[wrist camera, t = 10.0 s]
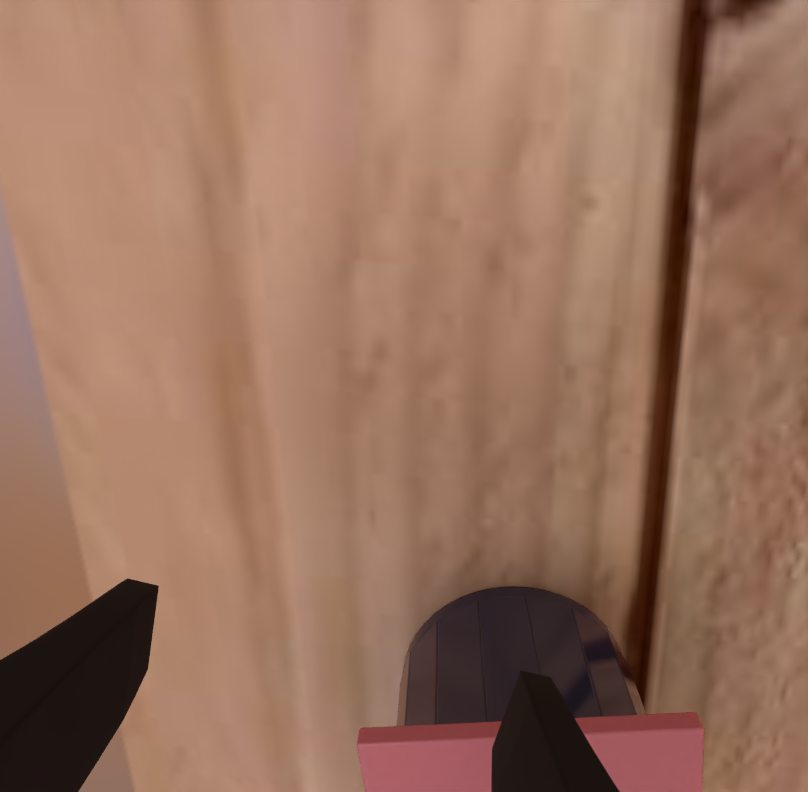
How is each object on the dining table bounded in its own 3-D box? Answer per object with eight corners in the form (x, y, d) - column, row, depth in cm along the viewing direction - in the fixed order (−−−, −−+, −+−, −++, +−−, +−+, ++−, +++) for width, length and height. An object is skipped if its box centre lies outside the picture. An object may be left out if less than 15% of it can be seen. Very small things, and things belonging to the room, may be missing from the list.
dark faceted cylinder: (584, 783, 27) (624, 965, 21) (382, 737, 27) (363, 907, 21) (657, 616, 24) (729, 769, 18) (432, 563, 24) (428, 699, 18)
